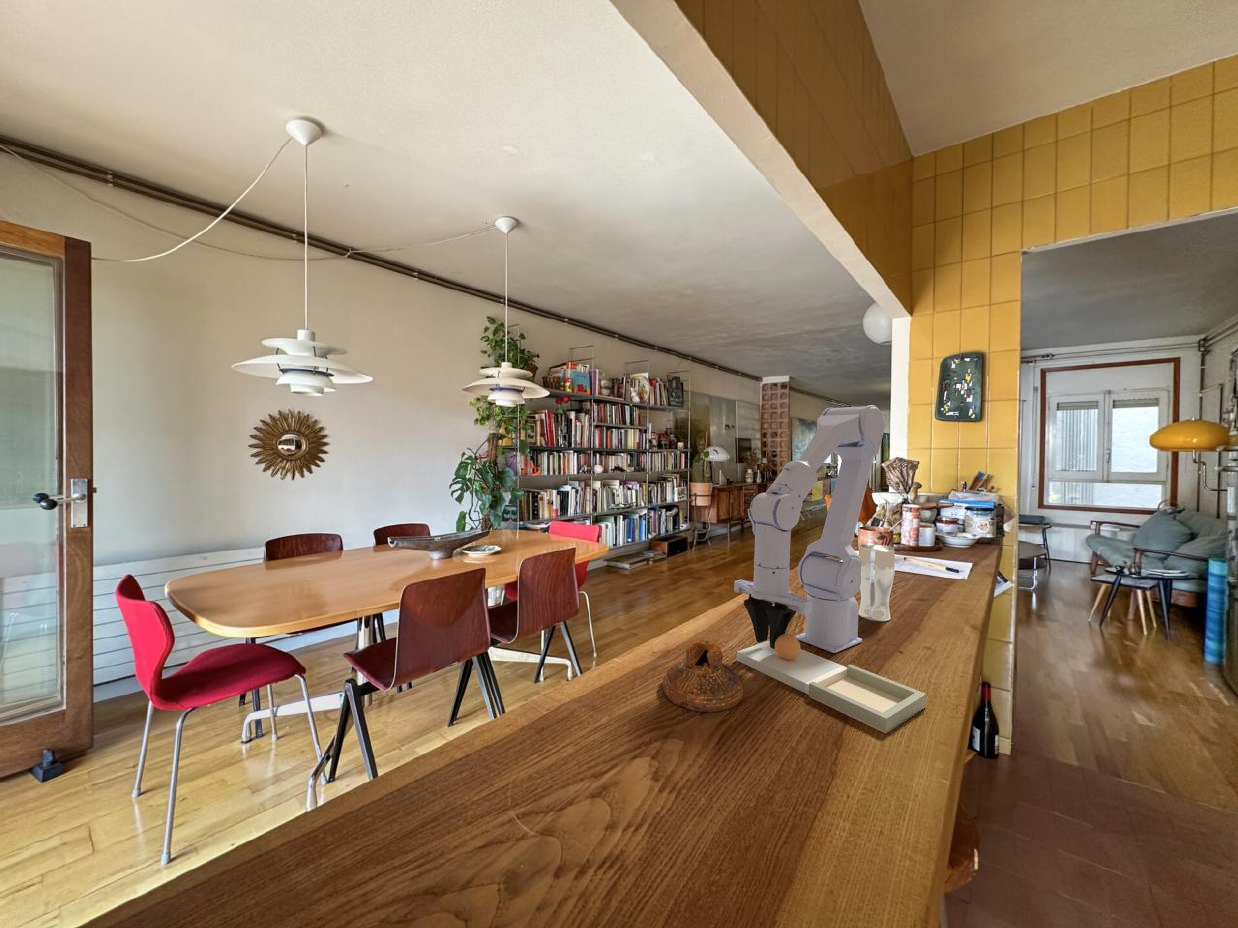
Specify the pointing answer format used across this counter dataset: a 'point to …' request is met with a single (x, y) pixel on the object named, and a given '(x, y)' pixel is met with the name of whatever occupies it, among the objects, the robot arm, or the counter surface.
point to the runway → (792, 667)
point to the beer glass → (876, 581)
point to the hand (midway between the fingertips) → (769, 644)
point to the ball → (787, 646)
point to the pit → (870, 699)
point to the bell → (703, 680)
